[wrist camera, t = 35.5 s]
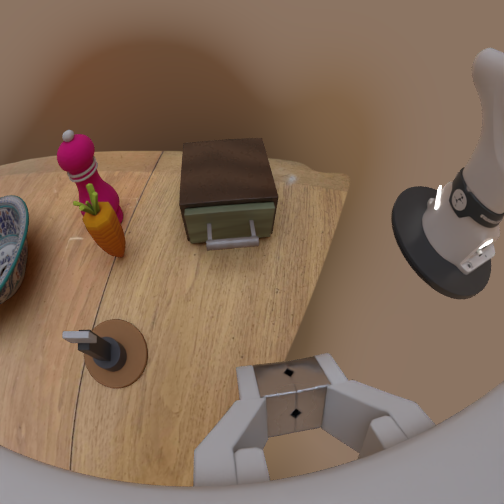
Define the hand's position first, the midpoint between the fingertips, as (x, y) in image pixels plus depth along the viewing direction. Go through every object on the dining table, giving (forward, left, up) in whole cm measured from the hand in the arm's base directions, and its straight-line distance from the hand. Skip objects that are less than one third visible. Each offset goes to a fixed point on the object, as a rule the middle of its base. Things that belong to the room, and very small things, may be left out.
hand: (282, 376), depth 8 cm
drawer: (0, -29, -26) cm, 39 cm away
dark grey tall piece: (+18, -7, -27) cm, 33 cm away
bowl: (+45, -21, -28) cm, 57 cm away
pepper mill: (+22, -31, -28) cm, 47 cm away
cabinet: (0, -32, -27) cm, 42 cm away
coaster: (+18, -7, -27) cm, 34 cm away
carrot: (+18, -23, -28) cm, 40 cm away
